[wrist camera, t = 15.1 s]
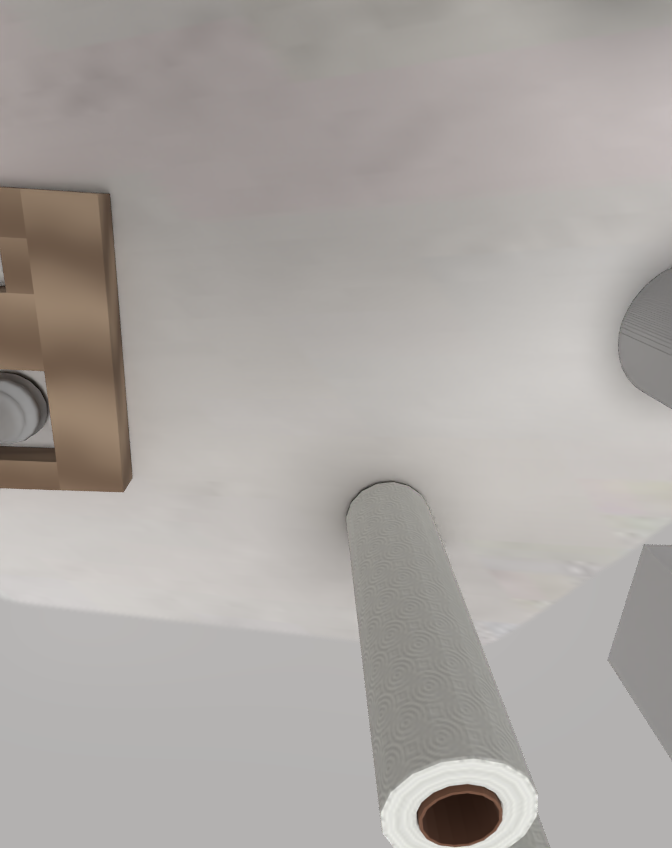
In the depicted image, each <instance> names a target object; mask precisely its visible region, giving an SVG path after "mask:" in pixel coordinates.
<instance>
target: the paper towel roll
mask: <svg viewBox="0 0 672 848" xmlns="http://www.w3.org/2000/svg"><path fill="white" fill-rule="evenodd" d="M346 523H347V532H348V541H349V549H350V558H351V567H352V575H353V584H354V593H355V601H356V610H357V619H358V627H359V636H360V645H361V653H362V662H363V671H364V680H365V688H366V697H367V706H368V714H369V722H370V731H371V740H372V749H373V758H374V766H375V775H376V784H377V792H378V801H379V810H380V819H381V827H382V833H383V834H384V835H385V837H386V838H387V839H388V841H389V842H390V843H391V844H392V846H393V847H394V848H550V845H549V843H548V840H547V837H546V834H545V832H544V829H543V826H542V824H541V821H540V818H539V815H538V813H537V802H538V793H537V790H536V787H535V785H534V782H533V780H532V777H531V774H530V771H529V769H528V766H527V764H526V761H525V758H524V756H523V753H522V751H521V748H520V745H519V743H518V740H517V737H516V735H515V733H514V730H513V727H512V724H511V722H510V719H509V716H508V714H507V711H506V709H505V706H504V704H503V701H502V698H501V695H500V693H499V690H498V688H497V685H496V682H495V680H494V677H493V675H492V672H491V669H490V667H489V664H488V661H487V659H486V657H485V654H484V651H483V648H482V646H481V643H480V640H479V638H478V635H477V632H476V630H475V627H474V625H473V622H472V619H471V617H470V614H469V611H468V609H467V606H466V604H465V601H464V598H463V596H462V593H461V590H460V588H459V585H458V583H457V580H456V577H455V575H454V572H453V570H452V567H451V564H450V562H449V559H448V556H447V554H446V551H445V549H444V546H443V543H442V541H441V538H440V535H439V533H438V530H437V528H436V525H435V522H434V520H433V517H432V514H431V512H430V509H429V507H428V505H427V504H426V502H425V500H424V498H423V496H422V495H420V494H419V493H418V492H416V491H415V490H414V489H412V488H411V487H409V486H407V485H403V484H399V483H395V482H389V483H380V484H375V485H373V486H371V487H369V488H367V489H365V490H363V491H362V492H361V493H360V494H359V495H358V496H357V497H356V498H355V499H354V500H353V501H352V503H351V505H350V508H349V511H348V513H347V516H346Z"/></svg>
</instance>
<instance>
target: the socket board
mask: <svg viewBox="0 0 672 848" xmlns="http://www.w3.org/2000/svg"><path fill="white" fill-rule="evenodd" d="M0 253H1V260H2V266H3V273H4V280H5V286H0V369H10V370H31V371H44V372H45V380H46V387H47V395H48V402H49V410H50V417H51V425H52V432H53V440H54V447H55V448H30V447H3V446H0V488H11V489H42V490H72V491H102V492H124V491H125V489H126V488H127V486H128V484H129V483H130V481H131V479H132V467H131V454H130V441H129V429H128V416H127V403H126V391H125V378H124V366H123V353H122V340H121V328H120V315H119V302H118V290H117V277H116V265H115V252H114V239H113V227H112V214H111V201H110V194H104V193H89V192H74V191H59V190H44V189H29V188H14V187H0Z"/></svg>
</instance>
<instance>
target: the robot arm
mask: <svg viewBox="0 0 672 848" xmlns="http://www.w3.org/2000/svg"><path fill="white" fill-rule="evenodd" d="M608 661H609V663H610V664H611V666H612V668H613V669H614V671H615V672H616V674H617V675H618V677H619V679H620V680H621V682H622V683H623V685H624V686H625V688H626V690H627V691H628V693H629V694H630V695H631V697H632V699H633V700H634V702H635V704H636V705H637V706H638V708H639V710H640V711H641V713H642V714H643V716H644V717H645V719H646V721H647V722H648V724H649V726H650V727H651V729H652V730H653V732H654V733H655V735H656V736H657V738H658V740H659V741H660V743H661V744H662V746H663V747H664V749H665V750H666V752H667V754H668V755H669V757H670V758H671V760H672V545H649V544H644V546H643V549H642V552H641V555H640V558H639V561H638V565H637V568H636V571H635V574H634V577H633V581H632V584H631V587H630V590H629V593H628V597H627V600H626V603H625V606H624V609H623V612H622V616H621V619H620V622H619V625H618V628H617V632H616V635H615V638H614V641H613V644H612V647H611V650H610V654H609V657H608Z"/></svg>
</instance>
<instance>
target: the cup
mask: <svg viewBox="0 0 672 848" xmlns="http://www.w3.org/2000/svg"><path fill="white" fill-rule="evenodd" d="M618 347H619V349H618V351H619V358H620V362H621V365H622V368H623V371H624V372H625V374H626V376H627V377H628V378H629V380H630V381H631V382H632V384H634V386H635V387H637V388H638V389H639V390H641V391H642V392H644V393H646V394H647V395H649V396H651V397H652V398H654V399H656V400H657V401H659V402H661V403H662V404H664V405H666V406H667V407H669V408H671V409H672V268H670V269H668V270H666V271H665V272H663V273H661V274H659V275H658V276H657V277H655V278H654V280H652V281H650V282H649V284H647V285H646V286H645V287H644V288H643V289H642V291H640V293H639V294H638V295H637V296H636V297H635V299H634V301H633V303H631V305H630V307H629V308H628V310H627V312H626V315H625V317H624V320H623V323H622V326H621V328H620V332H619V341H618Z"/></svg>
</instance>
